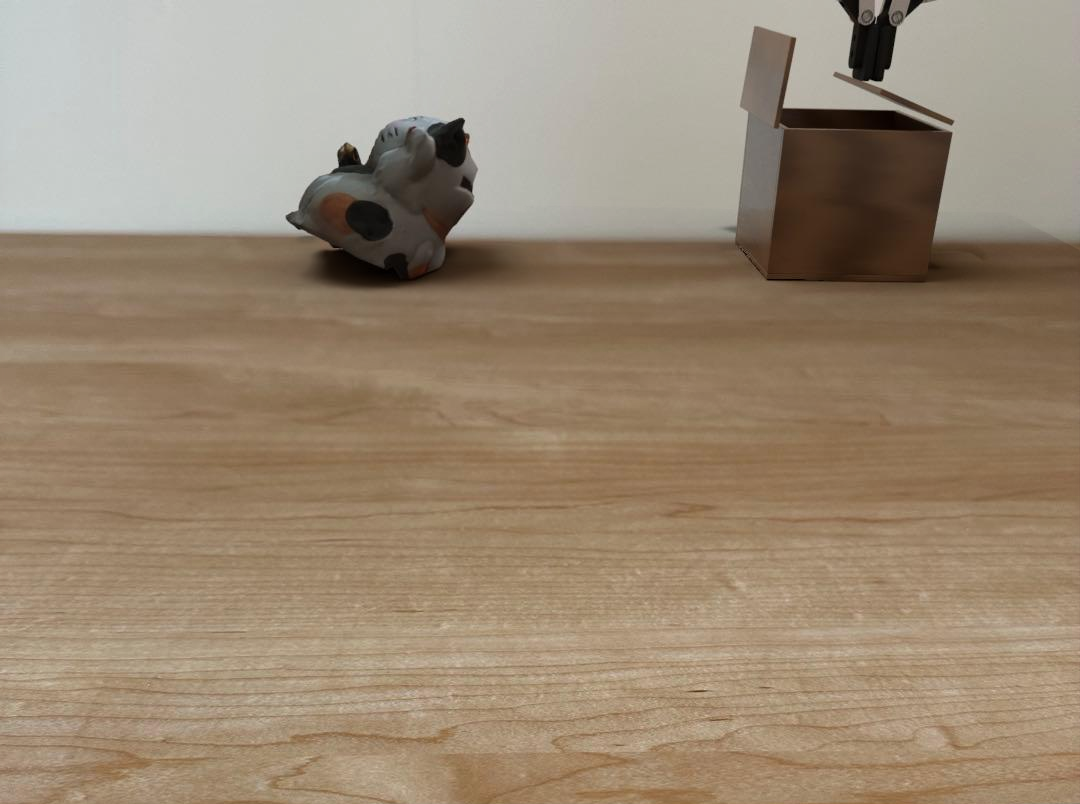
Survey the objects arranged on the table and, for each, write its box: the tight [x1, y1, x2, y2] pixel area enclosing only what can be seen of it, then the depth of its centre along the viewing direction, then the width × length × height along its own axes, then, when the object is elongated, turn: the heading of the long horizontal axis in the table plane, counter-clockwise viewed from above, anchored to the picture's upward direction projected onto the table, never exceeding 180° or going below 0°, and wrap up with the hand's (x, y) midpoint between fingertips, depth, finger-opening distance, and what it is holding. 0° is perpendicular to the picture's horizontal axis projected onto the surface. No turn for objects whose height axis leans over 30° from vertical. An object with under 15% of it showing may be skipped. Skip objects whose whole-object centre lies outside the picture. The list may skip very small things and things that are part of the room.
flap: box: [832, 71, 955, 127], centre depth 91 cm, size 6×13×1 cm, turn 2°
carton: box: [734, 25, 954, 283], centre depth 93 cm, size 14×13×18 cm
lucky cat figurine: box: [285, 115, 479, 280], centre depth 90 cm, size 15×12×14 cm
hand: (867, 79), depth 90 cm, fingers closed
